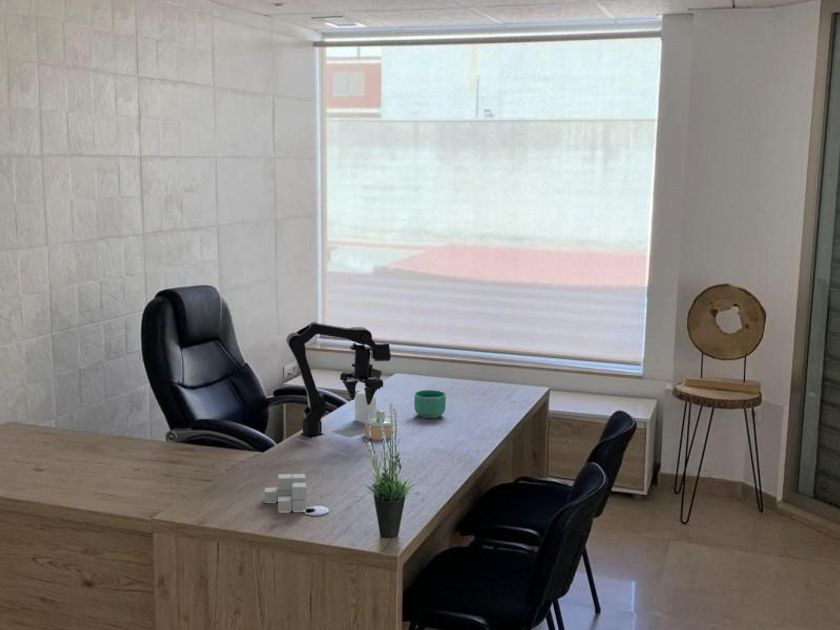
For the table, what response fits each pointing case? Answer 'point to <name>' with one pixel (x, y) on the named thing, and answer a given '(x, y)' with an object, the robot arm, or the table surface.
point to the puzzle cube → (288, 492)
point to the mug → (430, 403)
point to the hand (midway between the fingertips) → (360, 402)
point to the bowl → (377, 432)
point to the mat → (349, 431)
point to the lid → (376, 421)
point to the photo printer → (364, 408)
